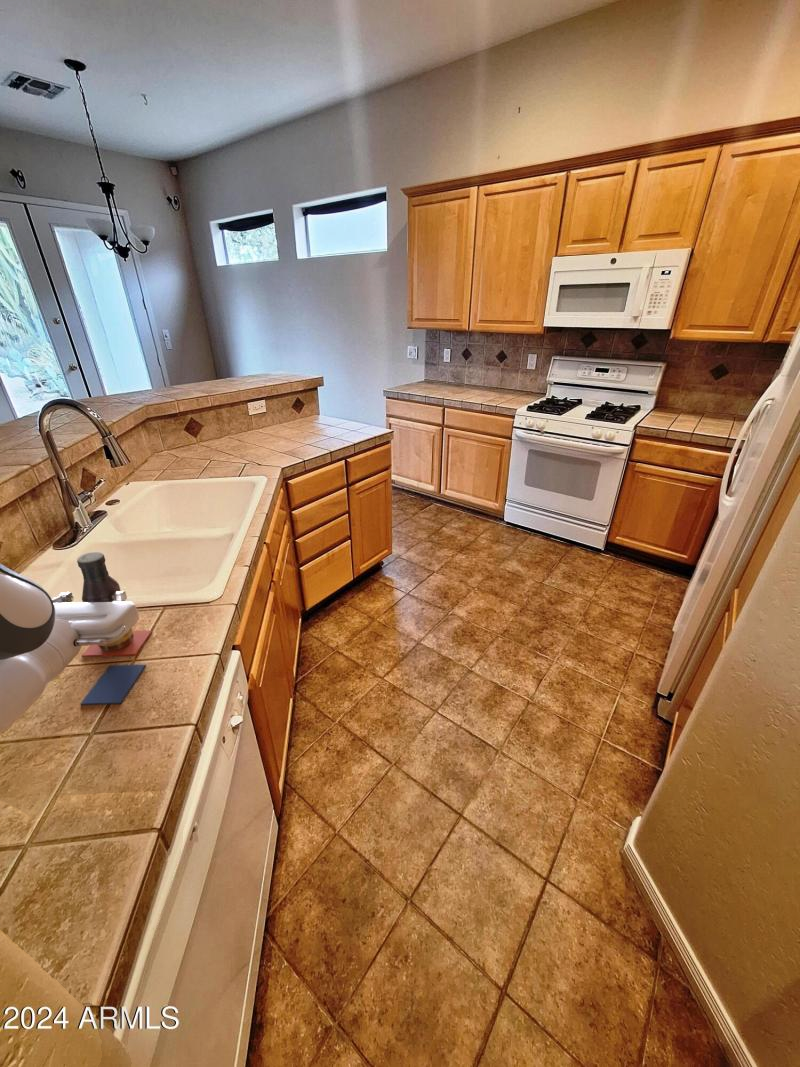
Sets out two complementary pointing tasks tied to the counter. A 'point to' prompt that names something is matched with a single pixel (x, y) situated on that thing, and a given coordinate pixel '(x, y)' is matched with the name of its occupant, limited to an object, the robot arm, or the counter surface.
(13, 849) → the counter surface
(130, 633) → the sauce bottle
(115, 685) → the blue mat
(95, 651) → the terracotta mat
